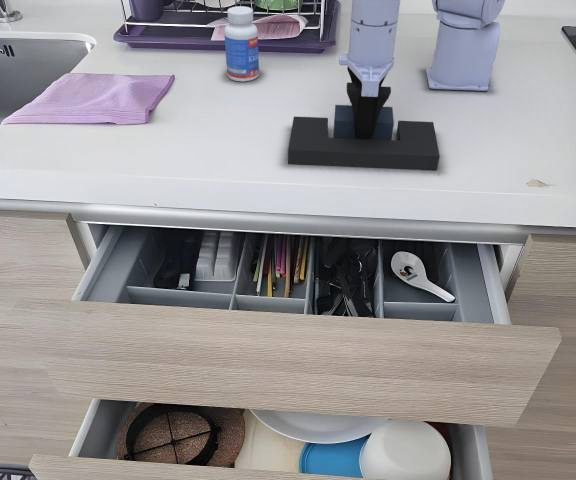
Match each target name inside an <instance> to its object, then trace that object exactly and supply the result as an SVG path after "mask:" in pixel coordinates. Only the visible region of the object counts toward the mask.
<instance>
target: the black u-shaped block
mask: <svg viewBox="0 0 576 480" xmlns="http://www.w3.org/2000/svg"><path fill="white" fill-rule="evenodd" d="M328 131H329V117H317V116H316V117H315V116H295V115H294V116H293V120H292V125H291V132H290V137H289V142H288V148H287V164H288V165H309V166H329V167H331V166H332V167H349V168H350V167H352V168H374V169H375V168H376V169H377V168H378V169H396V170H397V169H399V170H418V171H419V170H420V171H438V166H439V162H440V151H439V145H438V140H437V134H436V129H435V123H434V121H420V120H419V121H417V120H398V121H397V126H396V134H395V136H396V139H392V140H378V139H354V138H333V137H328V133H329V132H328Z"/></svg>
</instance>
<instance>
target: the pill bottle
mask: <svg viewBox="0 0 576 480" xmlns="http://www.w3.org/2000/svg"><path fill="white" fill-rule="evenodd" d="M227 21H228V22H229V23H228V24H226V25H225V27H224V30H223V33H224V48H225V65H226V75H227V77H228V79H230V80H232V81H236V82H251V81H253V80H255V79H257V78H258V77H259V75H260V66H259V65H260V63H259V62H260V61H259V60H260V59H259V31H258V27H257V26H256V24H254V23H253V21H254V10H253V8H252V7H250V6H243V5H241V6H238V5H237V6H232V7H229V8H228V9H227Z"/></svg>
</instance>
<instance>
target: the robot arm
mask: <svg viewBox="0 0 576 480" xmlns="http://www.w3.org/2000/svg"><path fill="white" fill-rule="evenodd" d="M505 2H506V0H431V4H432V8H433V11H434V12H435V13H436V18H435V19H436V20H438V21H439V24H438V29H437V36H436V41H435V47H434V52H433V57H432V63H431V64H432V65H431V66H429V67H426V69H425V73H426V78H427V83H428V88H429V89H432V90H453V91H455V90H456V91H477V92H478V91H480V92H481V91H482V92H487V91H488V90H489V83H490V79H491V75H492V72H493V68H494V65H495V60H496V56H497V51H498V47H499V43H500V35H501V27H500V23H499V22H497V21H495V20H496V19H498V17H499V15H500V13H501V12H502V10H503V7H504V5H505ZM400 5H401V0H351V12H350V13H351V14H350V28H349V41H348V53H339V55H338V64H339V65H341V66H347V67H346V68H347V69H346V70H347V72H348V74H349V77H350V81H351V82H346V93H347V97H348V99H349V101H350V105H352V109H353V116H354V130H355V136H356V139H371V137H372V135H373V132H374V129H375V126H376V123H377V120H378V116H379V114H380V111H381V109H382V107H384V105H385V104H386V103H387V101H388V100H389V98H390V96H391V94H392V87H391V86H382V85H383V83H384V81H385V78H386V77H387V76H388V74H389V72H390V71H391V70H392V69H393V67H394V66H395V57H394V52H395V46H396V45H395V44H396V37H397V31H398V21H399V14H400V7H401V6H400Z"/></svg>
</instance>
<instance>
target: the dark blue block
mask: <svg viewBox="0 0 576 480" xmlns="http://www.w3.org/2000/svg"><path fill="white" fill-rule="evenodd" d="M333 119H334V120H333V121H334V122H333V134H332V136H333V137H332V138H354V139H356V136H355V130H354V116H353V109H352V105H351V104H349V105H348V104H335V105H334V117H333ZM394 124H395V121H394V109H393V106H383V107H382V109H381V111H380V114H379V116H378V120H377V123H376V126H375V129H374V132H373V135H372V137H371V139H378V140H393V132H394Z"/></svg>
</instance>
